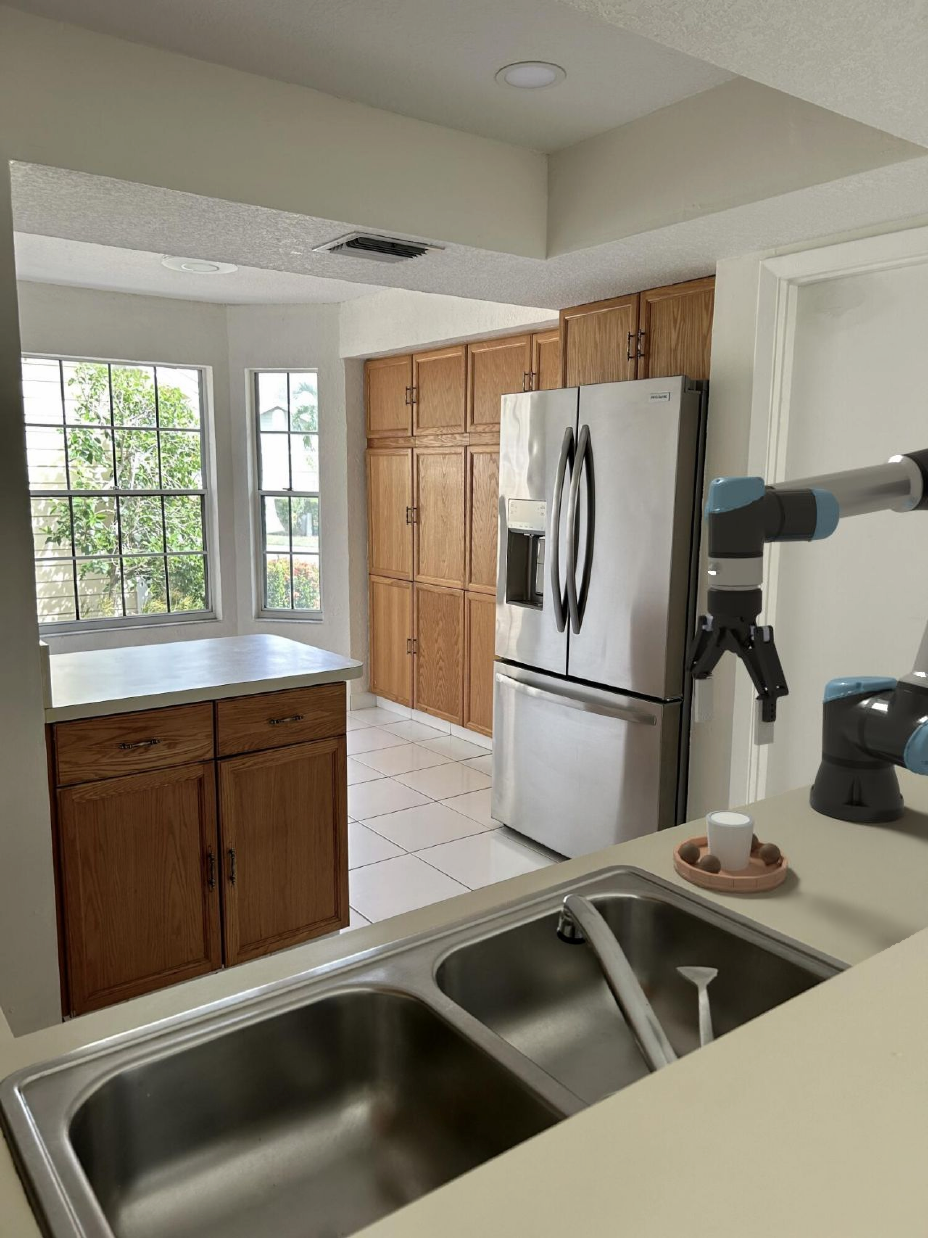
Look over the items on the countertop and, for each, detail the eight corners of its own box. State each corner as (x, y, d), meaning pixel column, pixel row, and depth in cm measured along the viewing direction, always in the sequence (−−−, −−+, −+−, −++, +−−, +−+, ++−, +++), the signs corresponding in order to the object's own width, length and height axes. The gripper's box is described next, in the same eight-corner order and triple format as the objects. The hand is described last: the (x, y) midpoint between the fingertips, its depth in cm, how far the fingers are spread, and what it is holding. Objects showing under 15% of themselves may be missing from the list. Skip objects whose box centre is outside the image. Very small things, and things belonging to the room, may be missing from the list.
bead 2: (712, 869, 133) (712, 850, 132) (725, 877, 130) (725, 857, 129) (694, 873, 132) (695, 853, 131) (707, 881, 129) (707, 861, 128)
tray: (739, 841, 145) (739, 828, 145) (811, 881, 130) (811, 866, 130) (653, 858, 140) (653, 844, 139) (717, 901, 125) (717, 886, 124)
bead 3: (749, 846, 141) (750, 827, 140) (762, 853, 138) (763, 834, 138) (733, 849, 140) (734, 830, 139) (746, 856, 137) (746, 837, 137)
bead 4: (771, 857, 136) (771, 838, 136) (784, 865, 134) (785, 845, 133) (754, 861, 135) (755, 842, 135) (768, 869, 132) (768, 849, 132)
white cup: (755, 874, 131) (756, 827, 130) (706, 871, 132) (707, 825, 131) (750, 855, 137) (751, 810, 136) (703, 852, 139) (704, 808, 138)
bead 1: (692, 857, 137) (692, 838, 137) (704, 864, 134) (704, 845, 134) (675, 860, 136) (675, 841, 136) (687, 868, 133) (687, 848, 133)
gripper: (662, 580, 139) (661, 715, 143) (773, 597, 116) (769, 758, 120) (703, 577, 142) (701, 710, 145) (819, 593, 119) (814, 750, 122)
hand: (732, 732), depth 132 cm, fingers open, 13 cm apart
